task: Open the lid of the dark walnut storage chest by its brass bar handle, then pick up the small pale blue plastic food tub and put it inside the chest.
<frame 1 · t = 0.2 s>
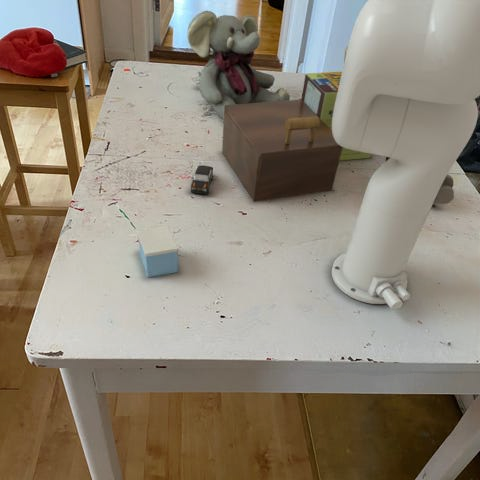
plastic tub: (158, 263, 79), on the table
plant pot: (358, 120, 123), on the table
protein box: (331, 150, 110), on the table
figurine character: (409, 198, 99), on the table
toy car: (204, 180, 97), on the table
lid: (284, 114, 92), point 13 cm above the table, hinge at 0.0°
plush elephant: (231, 104, 123), on the table
chest: (275, 171, 102), on the table
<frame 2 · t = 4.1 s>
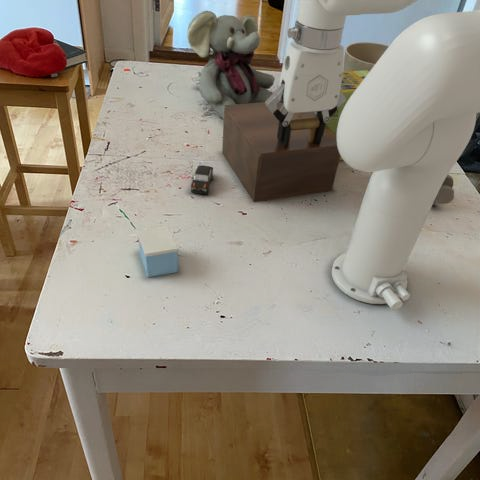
hand: (299, 141, 89), 11 cm above the table, tool pointing down, fingers closed on lid, 6 cm apart
lid: (284, 114, 92), point 13 cm above the table, hinge at -0.1°, touching gripper
everything else where it was.
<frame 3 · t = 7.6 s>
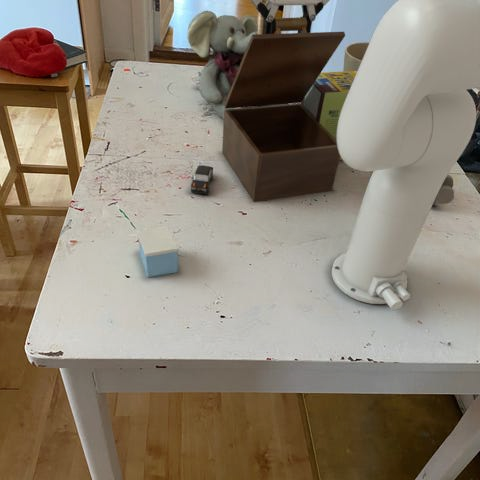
hand: (285, 43, 86), 24 cm above the table, tool pointing down, fingers closed on lid, 6 cm apart
lid: (276, 62, 91), point 20 cm above the table, hinge at 54.8°, touching gripper
everything else where it was.
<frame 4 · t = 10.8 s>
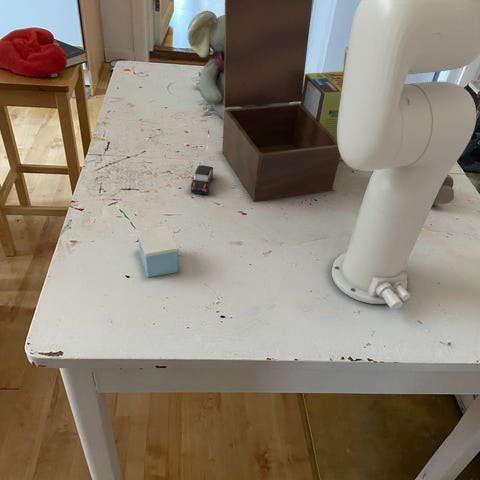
hand: (257, 19, 95), 24 cm above the table, tool pointing down, fingers closed on lid, 6 cm apart
lid: (262, 47, 95), point 20 cm above the table, hinge at 97.4°, touching gripper
everything else where it was.
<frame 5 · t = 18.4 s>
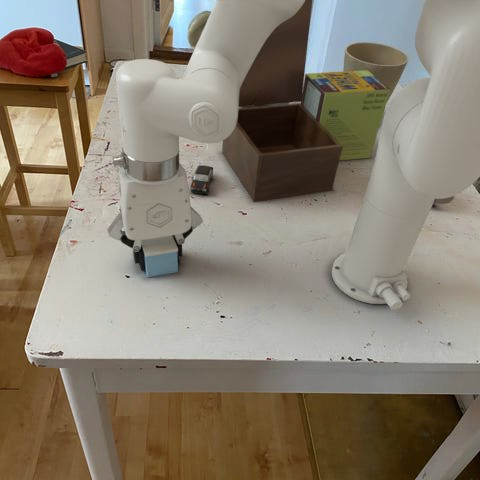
hand: (158, 261, 78), 0 cm above the table, tool pointing down, fingers closed on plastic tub, 5 cm apart
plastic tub: (158, 263, 79), on the table, touching gripper
lid: (262, 47, 95), point 20 cm above the table, hinge at 97.5°
everything else where it was.
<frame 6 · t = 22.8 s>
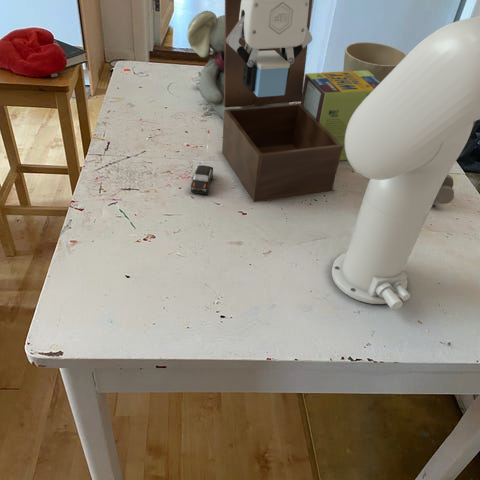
hand: (264, 86, 81), 20 cm above the table, tool pointing down, fingers closed on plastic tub, 5 cm apart
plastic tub: (264, 89, 81), point 20 cm above the table, touching gripper
everything else where it was.
when the fingers open (6 cm above the table, at t = 27.5 s): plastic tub drops 5 cm, resting on chest.
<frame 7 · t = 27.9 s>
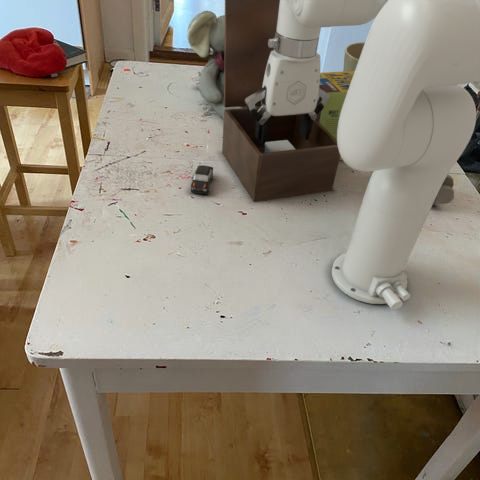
hand: (282, 138, 95), 8 cm above the table, tool pointing down, fingers open, 9 cm apart
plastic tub: (278, 170, 101), point 1 cm above the table, touching chest
everything else where it was.
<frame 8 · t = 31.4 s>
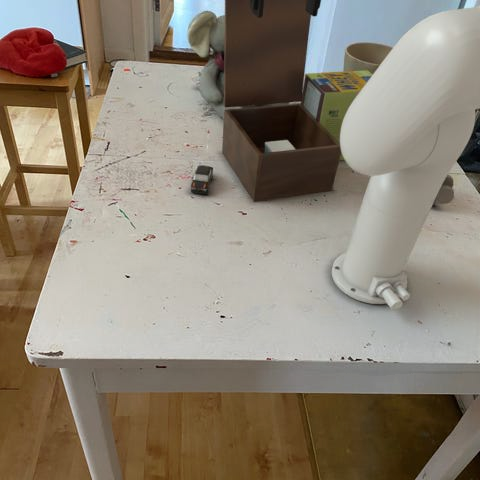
hand: (284, 14, 77), 30 cm above the table, tool pointing down, fingers open, 9 cm apart
nothing on the table moved.
at the end: lid at +98° (first picture: +0°); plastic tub inside the target area in the chest (1.0 cm from its centre), point 0.8 cm above the chest's base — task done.
